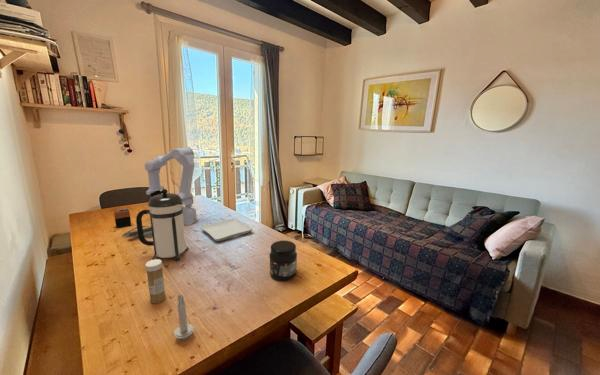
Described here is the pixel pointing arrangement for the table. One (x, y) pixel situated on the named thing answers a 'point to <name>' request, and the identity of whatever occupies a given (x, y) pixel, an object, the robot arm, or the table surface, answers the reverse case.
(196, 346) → the table surface
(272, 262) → the supplement container
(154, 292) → the sprinkles bottle
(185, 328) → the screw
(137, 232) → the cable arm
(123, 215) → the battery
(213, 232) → the salad plate
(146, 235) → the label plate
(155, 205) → the coffee press
